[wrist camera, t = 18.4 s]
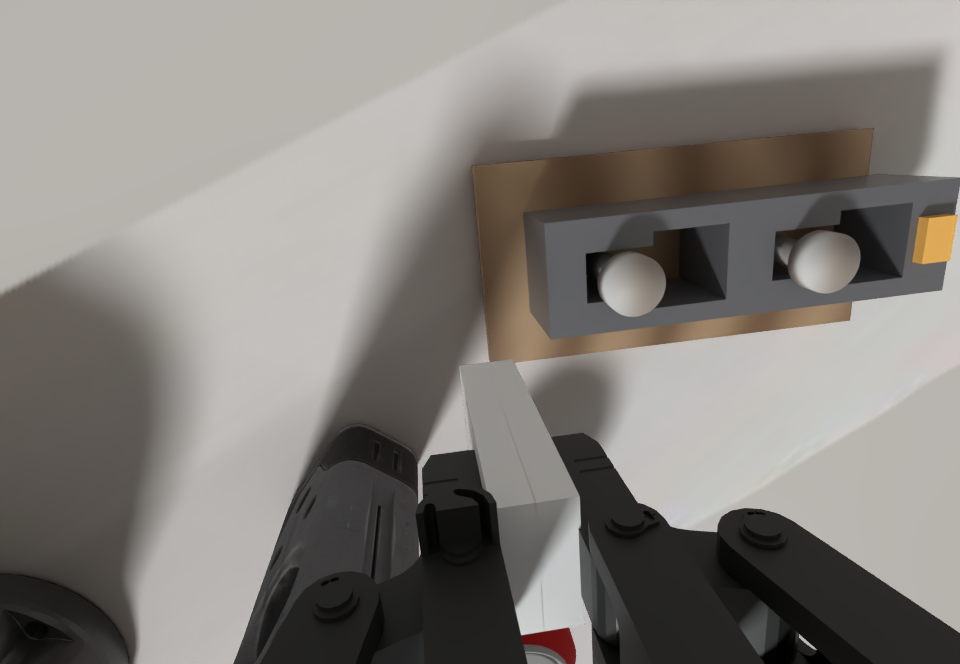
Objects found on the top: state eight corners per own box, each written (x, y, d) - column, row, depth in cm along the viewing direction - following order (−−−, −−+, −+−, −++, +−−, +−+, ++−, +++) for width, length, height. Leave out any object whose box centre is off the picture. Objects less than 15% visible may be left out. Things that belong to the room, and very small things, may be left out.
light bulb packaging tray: (529, 311, 34) (553, 343, 28) (523, 212, 32) (547, 224, 27) (865, 270, 36) (952, 292, 30) (877, 174, 34) (971, 178, 28)
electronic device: (349, 412, 36) (278, 696, 17) (427, 453, 38) (441, 755, 19) (278, 519, 38) (145, 884, 19) (356, 554, 39) (303, 924, 20)
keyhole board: (488, 358, 36) (510, 417, 28) (471, 166, 32) (491, 169, 24) (836, 315, 38) (950, 358, 30) (858, 129, 34) (995, 120, 26)
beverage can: (520, 585, 42) (559, 746, 31) (433, 570, 41) (441, 731, 29) (549, 510, 40) (604, 650, 29) (460, 491, 39) (480, 630, 28)
